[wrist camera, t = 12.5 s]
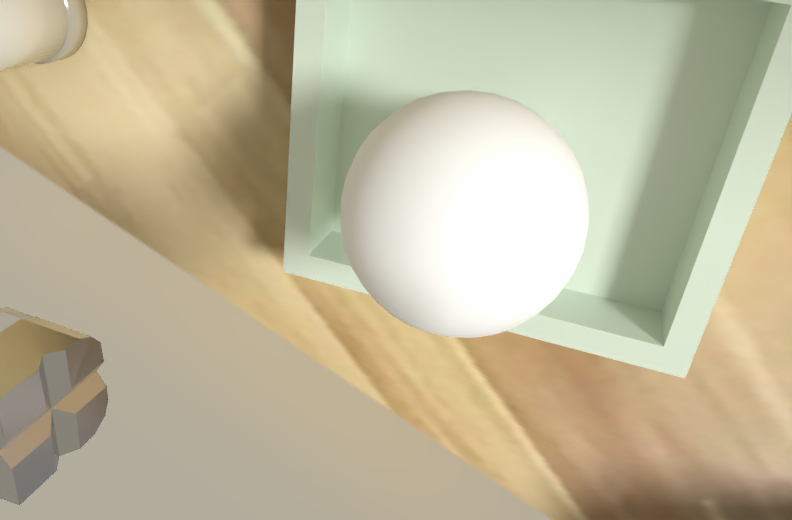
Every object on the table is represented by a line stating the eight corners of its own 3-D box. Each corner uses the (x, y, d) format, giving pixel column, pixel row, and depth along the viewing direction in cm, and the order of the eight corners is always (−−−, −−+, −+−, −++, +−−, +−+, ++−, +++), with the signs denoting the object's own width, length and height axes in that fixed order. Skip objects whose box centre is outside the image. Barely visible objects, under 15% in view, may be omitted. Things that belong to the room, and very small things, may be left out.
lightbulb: (503, 242, 26) (437, 430, 16) (388, 126, 25) (250, 252, 16) (636, 135, 23) (650, 289, 13) (510, -1, 22) (429, 60, 13)
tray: (820, -37, 20) (849, -31, 17) (679, 333, 26) (685, 378, 23) (337, -105, 23) (301, -108, 20) (313, 240, 29) (282, 271, 26)
